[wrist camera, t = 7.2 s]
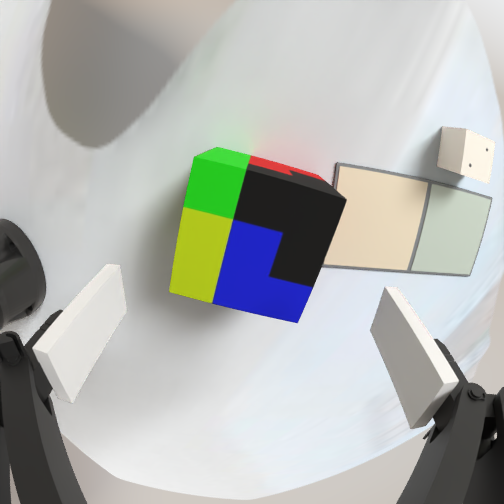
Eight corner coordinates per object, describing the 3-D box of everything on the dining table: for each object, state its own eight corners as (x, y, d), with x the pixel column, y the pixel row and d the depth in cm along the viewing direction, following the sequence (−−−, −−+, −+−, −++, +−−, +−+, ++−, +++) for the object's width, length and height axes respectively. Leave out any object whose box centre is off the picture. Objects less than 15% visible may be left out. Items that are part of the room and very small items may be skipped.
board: (320, 265, 31) (320, 266, 31) (336, 162, 26) (337, 162, 26) (469, 275, 31) (470, 276, 31) (491, 197, 27) (492, 198, 26)
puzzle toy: (287, 265, 31) (297, 323, 22) (195, 241, 30) (168, 291, 21) (318, 175, 27) (347, 199, 18) (217, 147, 26) (194, 156, 17)
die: (436, 166, 26) (460, 174, 22) (441, 126, 24) (466, 129, 20) (464, 175, 26) (489, 184, 22) (470, 137, 24) (495, 142, 20)
